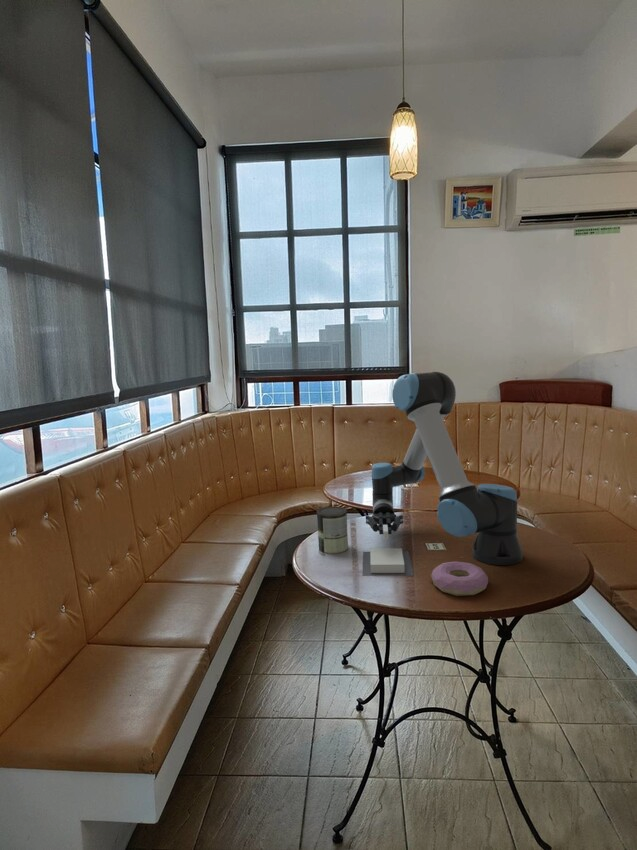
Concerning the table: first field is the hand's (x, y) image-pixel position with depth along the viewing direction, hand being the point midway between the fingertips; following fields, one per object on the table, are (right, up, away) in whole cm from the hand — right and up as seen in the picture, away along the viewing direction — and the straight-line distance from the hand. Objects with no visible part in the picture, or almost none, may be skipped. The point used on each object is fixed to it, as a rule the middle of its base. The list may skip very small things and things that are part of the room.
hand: (385, 535), depth 156 cm
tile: (+1, -7, +7) cm, 10 cm away
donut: (+19, -11, -14) cm, 26 cm away
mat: (+1, -10, +2) cm, 10 cm away
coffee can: (-16, -9, +17) cm, 25 cm away
